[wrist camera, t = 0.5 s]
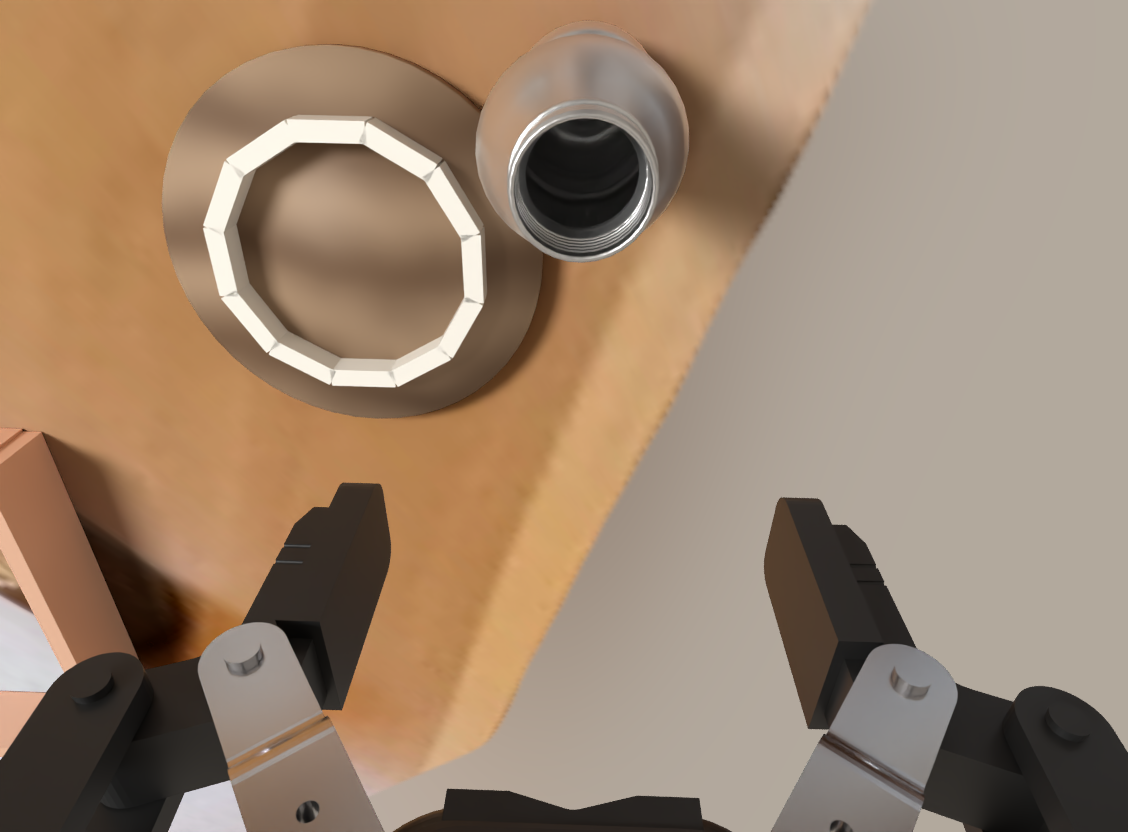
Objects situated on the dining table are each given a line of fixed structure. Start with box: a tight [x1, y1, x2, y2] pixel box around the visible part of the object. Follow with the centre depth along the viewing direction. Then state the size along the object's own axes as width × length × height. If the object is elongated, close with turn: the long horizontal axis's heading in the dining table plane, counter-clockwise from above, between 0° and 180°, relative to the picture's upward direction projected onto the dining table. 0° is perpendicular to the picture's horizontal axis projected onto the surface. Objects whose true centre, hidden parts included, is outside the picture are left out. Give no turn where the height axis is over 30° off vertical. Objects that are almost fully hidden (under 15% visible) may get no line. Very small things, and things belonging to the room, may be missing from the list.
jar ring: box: [203, 115, 487, 387], centre depth 37 cm, size 14×14×2 cm
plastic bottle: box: [475, 20, 689, 263], centre depth 25 cm, size 6×7×20 cm
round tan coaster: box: [162, 44, 543, 418], centre depth 38 cm, size 20×20×1 cm
